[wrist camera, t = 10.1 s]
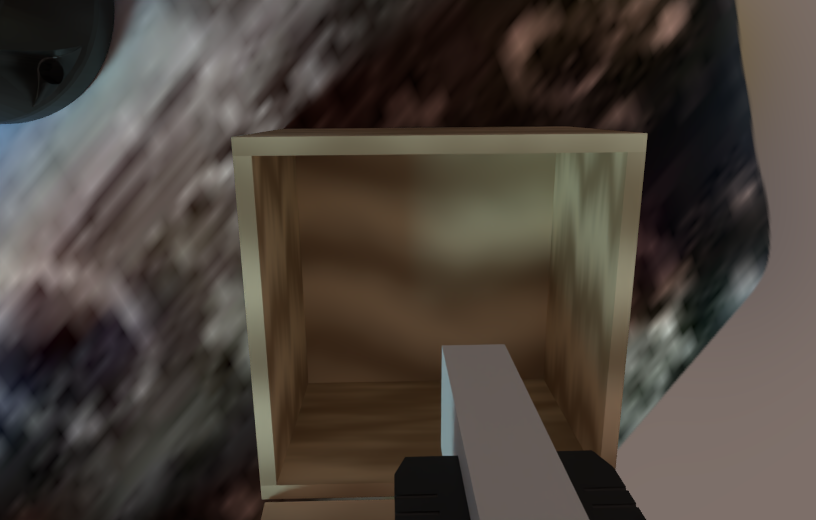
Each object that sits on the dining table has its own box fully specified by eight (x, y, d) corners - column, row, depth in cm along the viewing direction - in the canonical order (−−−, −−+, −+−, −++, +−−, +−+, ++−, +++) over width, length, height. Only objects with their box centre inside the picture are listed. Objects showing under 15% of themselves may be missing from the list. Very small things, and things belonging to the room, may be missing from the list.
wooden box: (283, 128, 36) (231, 137, 24) (566, 126, 36) (647, 133, 25) (299, 388, 41) (261, 499, 29) (551, 383, 41) (613, 491, 29)
